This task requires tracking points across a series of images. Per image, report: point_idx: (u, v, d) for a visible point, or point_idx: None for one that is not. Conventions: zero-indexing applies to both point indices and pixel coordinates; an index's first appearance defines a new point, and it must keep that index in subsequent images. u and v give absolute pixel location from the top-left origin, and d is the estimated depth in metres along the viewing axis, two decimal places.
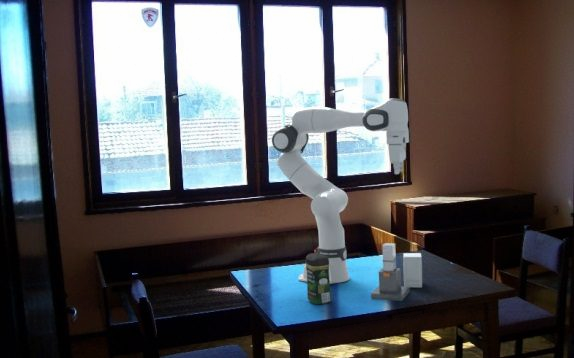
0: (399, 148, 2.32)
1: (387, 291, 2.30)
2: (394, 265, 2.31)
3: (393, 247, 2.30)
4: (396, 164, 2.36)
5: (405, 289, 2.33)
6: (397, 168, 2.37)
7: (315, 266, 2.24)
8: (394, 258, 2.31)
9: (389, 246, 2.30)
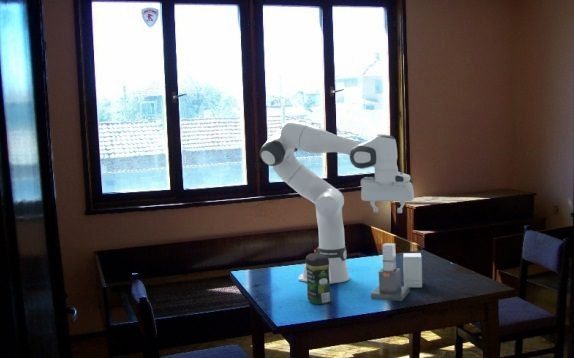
0: (412, 185, 2.27)
1: (387, 291, 2.30)
2: (394, 265, 2.31)
3: (393, 247, 2.30)
4: (404, 202, 2.27)
5: (405, 289, 2.33)
6: (402, 206, 2.28)
7: (315, 266, 2.24)
8: (394, 258, 2.31)
9: (389, 246, 2.30)
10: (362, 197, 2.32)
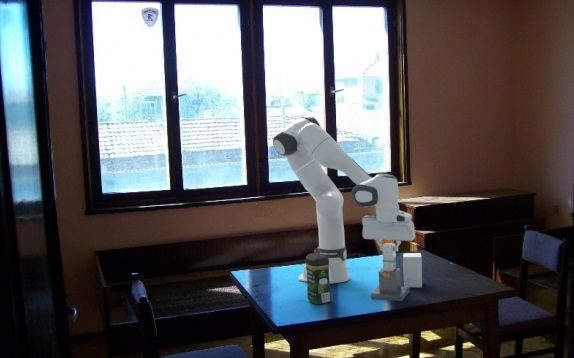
0: (413, 224, 2.28)
1: (387, 291, 2.30)
2: (394, 265, 2.31)
3: None
4: (400, 241, 2.30)
5: (405, 289, 2.33)
6: (398, 245, 2.30)
7: (315, 266, 2.24)
8: (394, 258, 2.31)
9: (389, 246, 2.30)
10: (363, 235, 2.34)
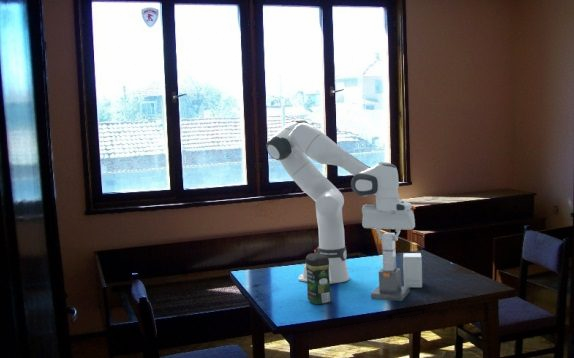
0: (413, 213, 2.28)
1: (387, 291, 2.30)
2: (394, 254, 2.31)
3: None
4: (400, 230, 2.29)
5: (405, 289, 2.33)
6: (398, 234, 2.30)
7: (315, 266, 2.24)
8: (394, 247, 2.31)
9: (389, 235, 2.29)
10: (363, 224, 2.33)
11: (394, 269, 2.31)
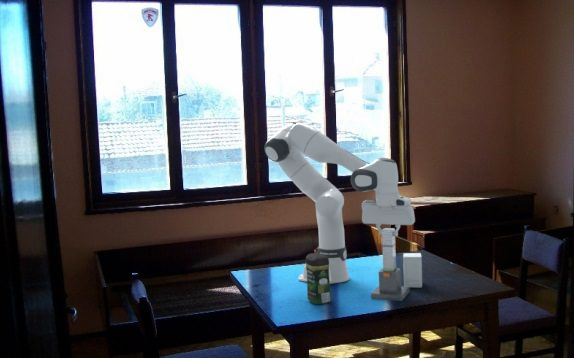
0: (412, 208, 2.28)
1: (387, 291, 2.30)
2: (393, 250, 2.31)
3: (392, 232, 2.30)
4: (399, 225, 2.29)
5: (405, 289, 2.33)
6: (398, 229, 2.30)
7: (315, 266, 2.24)
8: (393, 243, 2.31)
9: (388, 231, 2.29)
10: (363, 220, 2.33)
11: (394, 265, 2.31)
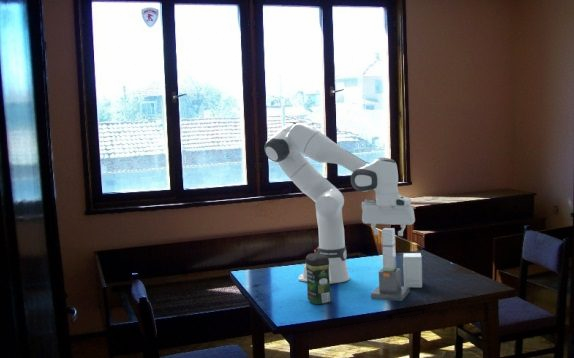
0: (412, 208, 2.28)
1: (387, 291, 2.30)
2: (393, 250, 2.31)
3: (392, 232, 2.30)
4: (405, 225, 2.28)
5: (405, 289, 2.33)
6: (403, 229, 2.29)
7: (315, 266, 2.24)
8: (393, 243, 2.31)
9: (388, 231, 2.29)
10: (363, 220, 2.33)
11: (394, 264, 2.31)
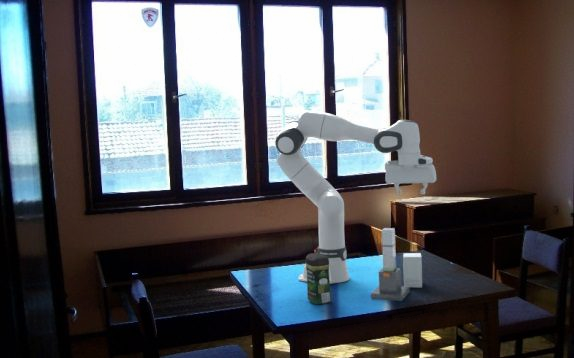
0: (434, 167, 2.37)
1: (387, 291, 2.30)
2: (393, 250, 2.31)
3: (392, 232, 2.30)
4: (427, 184, 2.38)
5: (405, 289, 2.33)
6: (425, 188, 2.38)
7: (315, 266, 2.24)
8: (393, 243, 2.31)
9: (388, 231, 2.29)
10: (386, 180, 2.43)
11: (394, 264, 2.31)
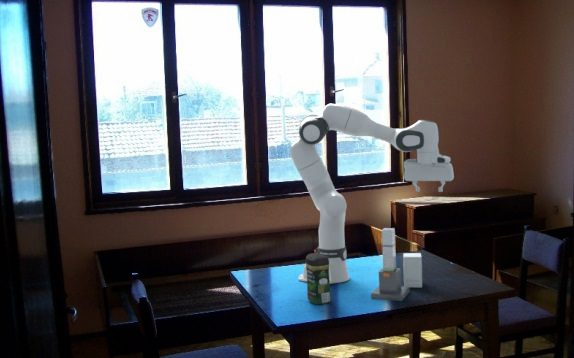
0: None
1: (387, 291, 2.30)
2: (393, 250, 2.31)
3: (392, 232, 2.30)
4: (444, 182, 2.48)
5: (405, 289, 2.33)
6: None
7: (315, 266, 2.24)
8: (393, 243, 2.31)
9: (388, 231, 2.29)
10: (405, 177, 2.52)
11: (394, 264, 2.31)
